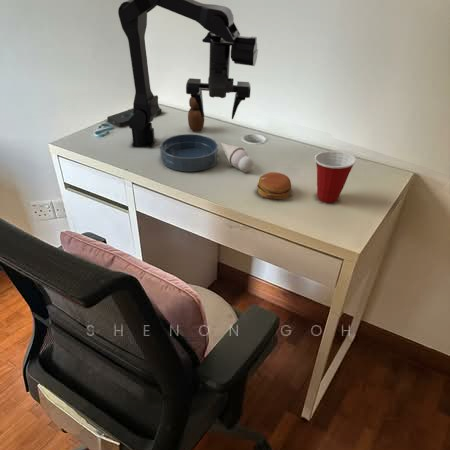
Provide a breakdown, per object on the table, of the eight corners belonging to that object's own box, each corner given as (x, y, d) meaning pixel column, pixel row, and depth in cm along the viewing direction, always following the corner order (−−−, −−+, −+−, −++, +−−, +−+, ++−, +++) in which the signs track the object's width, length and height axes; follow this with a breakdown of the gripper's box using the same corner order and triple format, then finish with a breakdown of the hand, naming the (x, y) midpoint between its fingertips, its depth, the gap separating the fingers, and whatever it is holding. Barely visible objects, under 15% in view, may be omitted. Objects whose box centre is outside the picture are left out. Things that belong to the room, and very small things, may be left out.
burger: (295, 198, 117) (298, 182, 114) (265, 203, 115) (266, 187, 112) (281, 181, 124) (282, 167, 121) (252, 186, 122) (253, 171, 119)
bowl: (157, 171, 127) (156, 157, 123) (165, 146, 139) (164, 133, 136) (216, 173, 127) (216, 159, 124) (218, 148, 140) (218, 135, 136)
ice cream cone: (220, 154, 136) (248, 179, 129) (209, 147, 131) (238, 172, 124) (231, 138, 134) (261, 163, 127) (221, 130, 129) (251, 155, 122)
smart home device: (106, 116, 153) (148, 103, 164) (106, 121, 154) (148, 107, 165) (120, 122, 149) (162, 108, 160) (120, 127, 150) (162, 113, 161)
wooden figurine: (203, 133, 148) (203, 88, 138) (187, 133, 148) (186, 87, 138) (204, 126, 153) (204, 82, 143) (189, 125, 153) (187, 81, 142)
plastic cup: (319, 184, 124) (327, 144, 115) (352, 197, 119) (363, 156, 110) (300, 198, 117) (307, 157, 109) (334, 212, 113) (344, 170, 104)
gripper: (183, 67, 112) (184, 126, 123) (252, 72, 112) (247, 130, 123) (187, 56, 120) (188, 112, 131) (252, 60, 120) (247, 116, 131)
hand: (217, 117), depth 129 cm, fingers open, 9 cm apart
